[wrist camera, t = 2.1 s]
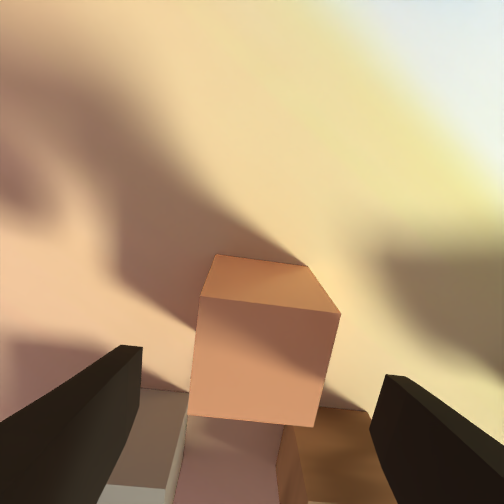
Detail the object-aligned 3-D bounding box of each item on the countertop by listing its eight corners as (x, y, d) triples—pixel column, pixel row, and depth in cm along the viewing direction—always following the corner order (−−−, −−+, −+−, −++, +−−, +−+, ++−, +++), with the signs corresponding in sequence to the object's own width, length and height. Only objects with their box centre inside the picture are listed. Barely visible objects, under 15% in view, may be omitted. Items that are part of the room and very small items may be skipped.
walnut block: (366, 410, 16) (418, 510, 11) (348, 471, 17) (388, 585, 12) (289, 402, 16) (308, 500, 11) (275, 464, 17) (287, 579, 12)
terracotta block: (307, 266, 14) (341, 313, 9) (291, 346, 15) (313, 427, 10) (216, 253, 14) (199, 295, 9) (206, 337, 15) (187, 414, 10)
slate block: (190, 392, 16) (165, 489, 11) (183, 456, 17) (158, 570, 12) (106, 383, 15) (42, 478, 10) (105, 449, 16) (46, 562, 12)
